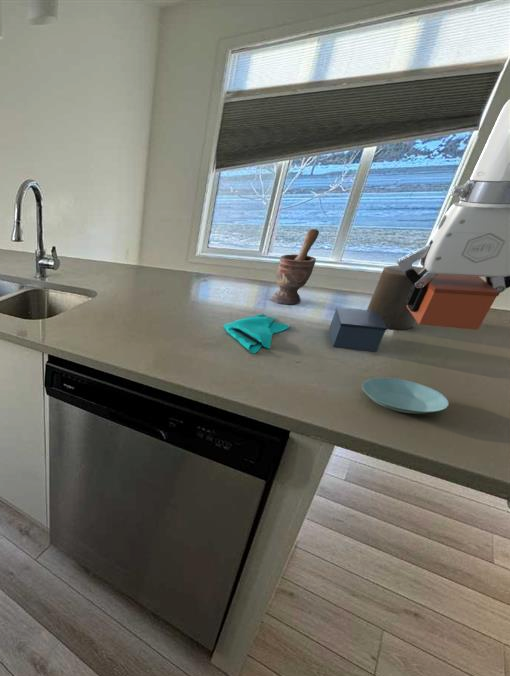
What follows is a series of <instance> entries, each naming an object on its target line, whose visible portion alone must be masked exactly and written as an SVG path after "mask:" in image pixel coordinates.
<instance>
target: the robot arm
mask: <svg viewBox="0 0 510 676" xmlns="http://www.w3.org/2000/svg"><path fill="white" fill-rule="evenodd" d="M449 195H450V197H458V198H459V202H453V203H452V204H451V206H450V207H449V209H448V210H447V212H446V213H445V214H444V216H443V217H442V219H441V220H440V222H439V223H438V225H437V227H436V228H435V230H434V232H433V234H432V235H431V237H430V239H429V241H428V243H427V245H425V246H423V247H421V248H419V249H417V250H415V251H413V252H410V253H408V254H406V255H405V256H402V257H400V258H399V259H398V260H396V264H397V266H400V268H401V269H402V271H403V272H404V274H405V275H406V276H407V277H408V279H409V280H410V281H411V282H412V283H413V286H412V288H411V290H410V292H409V295H408V297H407V299H406V302H405V303H406V305H408V308H409V309H410V311H411V312H416V311H418V309H419V307H420V305H421V302H422V300H423V298H424V296H425V294H426V292H427V289H426V288H425V287H426V285H427V284H428V283H429V282H430V281H431V280H432V279H434V278H435V277H436V276H437V275H438V274H441V275H458V276H478V277H480V278H482V277H483V278H485V282H487V283H488V284H489V285H491V286H492V287H493V288H495V289H496V290H497V291H499V292H500V294H501V293H503V292H505V291H506V290H507V289H508V288H510V98H509V99H508V100H507V101H506V103H505V104H504V105H503V107H502V108H501V110H500V113H499V115H498V117H497V119H496V121H495V123H494V126H493V128H492V130H491V132H490V134H489V136H488V139H487V141H486V143H485V145H484V148H483V150H482V152H481V154H480V156H479V159H478V161H477V162H476V165H475V167H474V170H473V171H472V173H471V176H470V178H469V179H468V180H466V182H465V183H464V184H461V185H453V187H452V188H451V190H450V194H449ZM418 261H420V262H419V263H420V265H421V266H422V267H423V268H424V269H423V270H422V271H420V272H419V273H417V272H416V271H415V270H414V268H413V267H412V266H413V264H414V263H416V262H418Z"/></svg>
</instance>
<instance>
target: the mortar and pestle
mask: <svg viewBox="0 0 510 676" xmlns="http://www.w3.org/2000/svg"><path fill="white" fill-rule="evenodd" d="M319 234H320V230H319V229H316V228H312V229H309V230H308V231H307V233H306V235H305V237H304V239H303V243H302V245H301V247H300V250H299V252H298V254H295V253H294V254H283V255H281V256H280V258H279V262H278V267H277V271H276V283H277V285H278V287H279V290H278V291H276V292H275V293H273V294H272V296H271V301H273V302H274V303H276V304H280V305H281V304H282V305H297V304H300V302H301V296H300V294H299V293H298V290H299V289H301V288H302V287H304V286H305V285H306V284H307V282H308V281H309V279H310V278H311V275H312V273H313V270H314V267H315V265H316V262H317V258H315V257H313V256H310V255H308V253H309V251H310V250H311V248H312V246H313V245H314V244H315V242H316V241H317V239H318V237H319Z"/></svg>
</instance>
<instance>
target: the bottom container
mask: <svg viewBox="0 0 510 676" xmlns="http://www.w3.org/2000/svg"><path fill="white" fill-rule="evenodd" d="M334 310H335V311H334V313H333V316H332V319H331V322H330V326H329V327H328V333H329V336H330V340H331V345H332V347H333V348H340V349H348V350H357V351H364V352H365V351H366V352H374V353H376V352H377V351H378V349H379V346H380V345H381V342H382V339H383V337H384V335H385V333H386V331H387V330H388V329H387V327H386V325H385V323H384V321H383V319H382V317H381V315H380V314H379V312H378V311H370V310H367V309H356V308H345V307H335V309H334Z"/></svg>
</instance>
